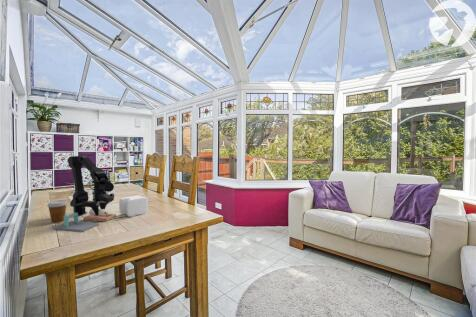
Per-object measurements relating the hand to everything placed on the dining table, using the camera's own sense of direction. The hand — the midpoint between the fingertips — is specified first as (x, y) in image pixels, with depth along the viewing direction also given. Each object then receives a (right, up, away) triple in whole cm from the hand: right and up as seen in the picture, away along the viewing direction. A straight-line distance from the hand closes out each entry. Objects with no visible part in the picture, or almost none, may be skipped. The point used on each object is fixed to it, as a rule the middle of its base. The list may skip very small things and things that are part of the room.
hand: (99, 214), depth 148 cm
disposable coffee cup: (-23, -3, -5) cm, 23 cm away
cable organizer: (+17, -2, +10) cm, 20 cm away
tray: (0, -3, 0) cm, 3 cm away
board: (-4, -3, -15) cm, 16 cm away
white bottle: (-1, 0, -1) cm, 1 cm away
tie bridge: (-8, -2, -15) cm, 17 cm away
